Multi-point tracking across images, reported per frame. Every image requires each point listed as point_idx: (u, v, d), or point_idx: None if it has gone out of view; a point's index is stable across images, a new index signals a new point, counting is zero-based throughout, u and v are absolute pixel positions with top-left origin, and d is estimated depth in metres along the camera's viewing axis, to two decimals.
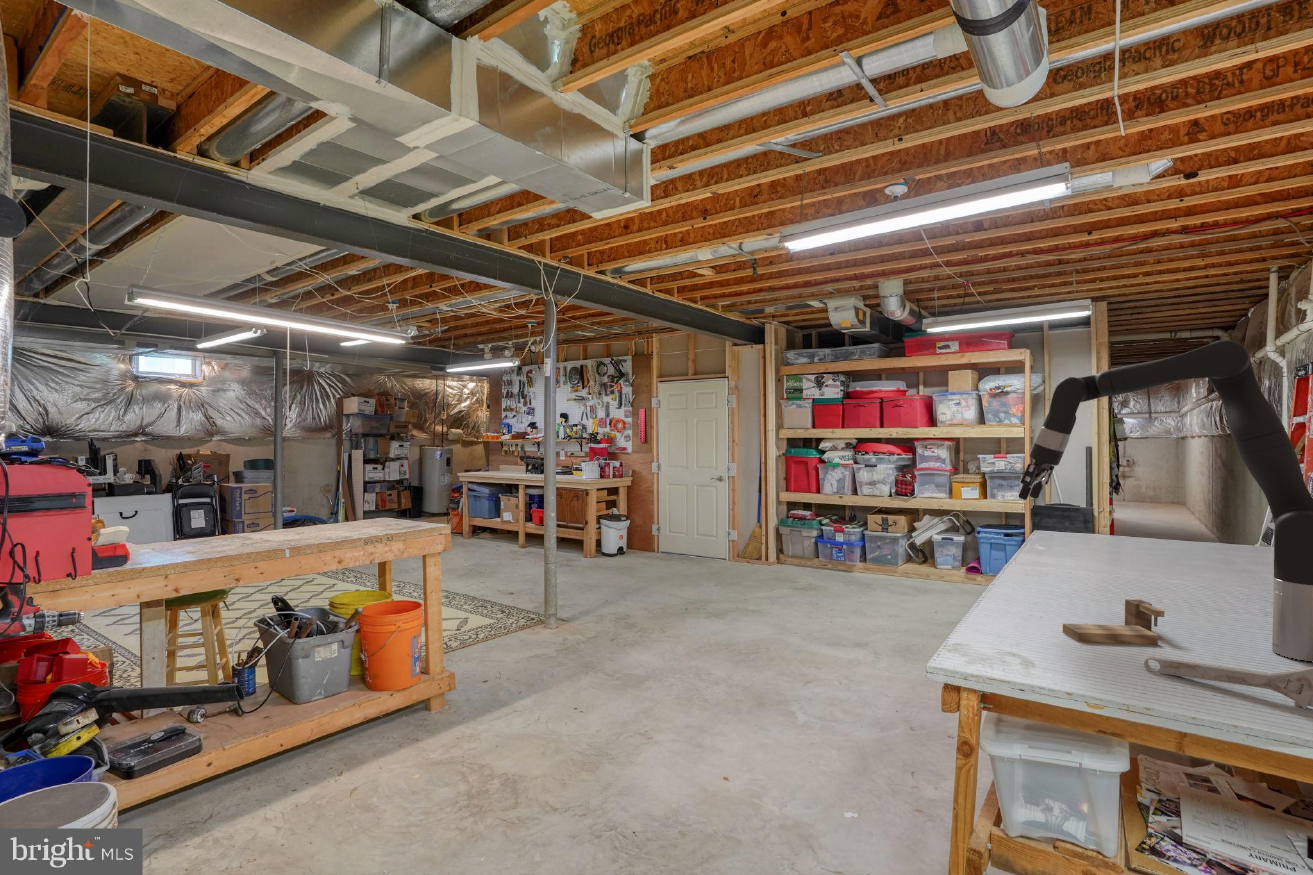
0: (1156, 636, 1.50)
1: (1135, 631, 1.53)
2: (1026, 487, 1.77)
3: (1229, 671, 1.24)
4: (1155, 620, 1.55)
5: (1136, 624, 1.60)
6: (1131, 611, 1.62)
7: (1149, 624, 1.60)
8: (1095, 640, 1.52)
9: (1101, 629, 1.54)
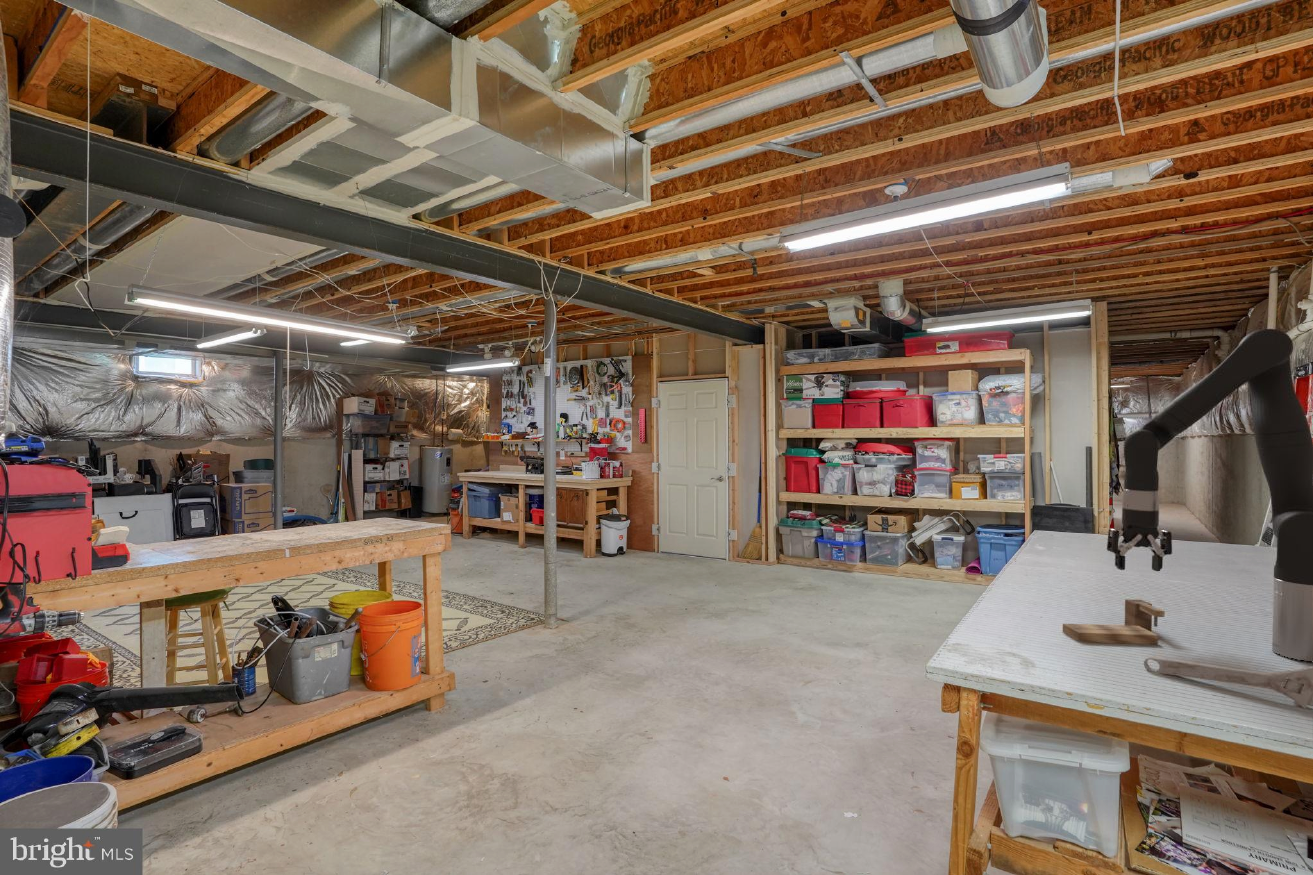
0: (1156, 636, 1.50)
1: (1135, 631, 1.53)
2: (1117, 555, 1.62)
3: (1229, 671, 1.24)
4: (1155, 620, 1.55)
5: (1136, 624, 1.60)
6: (1131, 611, 1.62)
7: (1149, 624, 1.60)
8: (1095, 640, 1.52)
9: (1101, 629, 1.54)
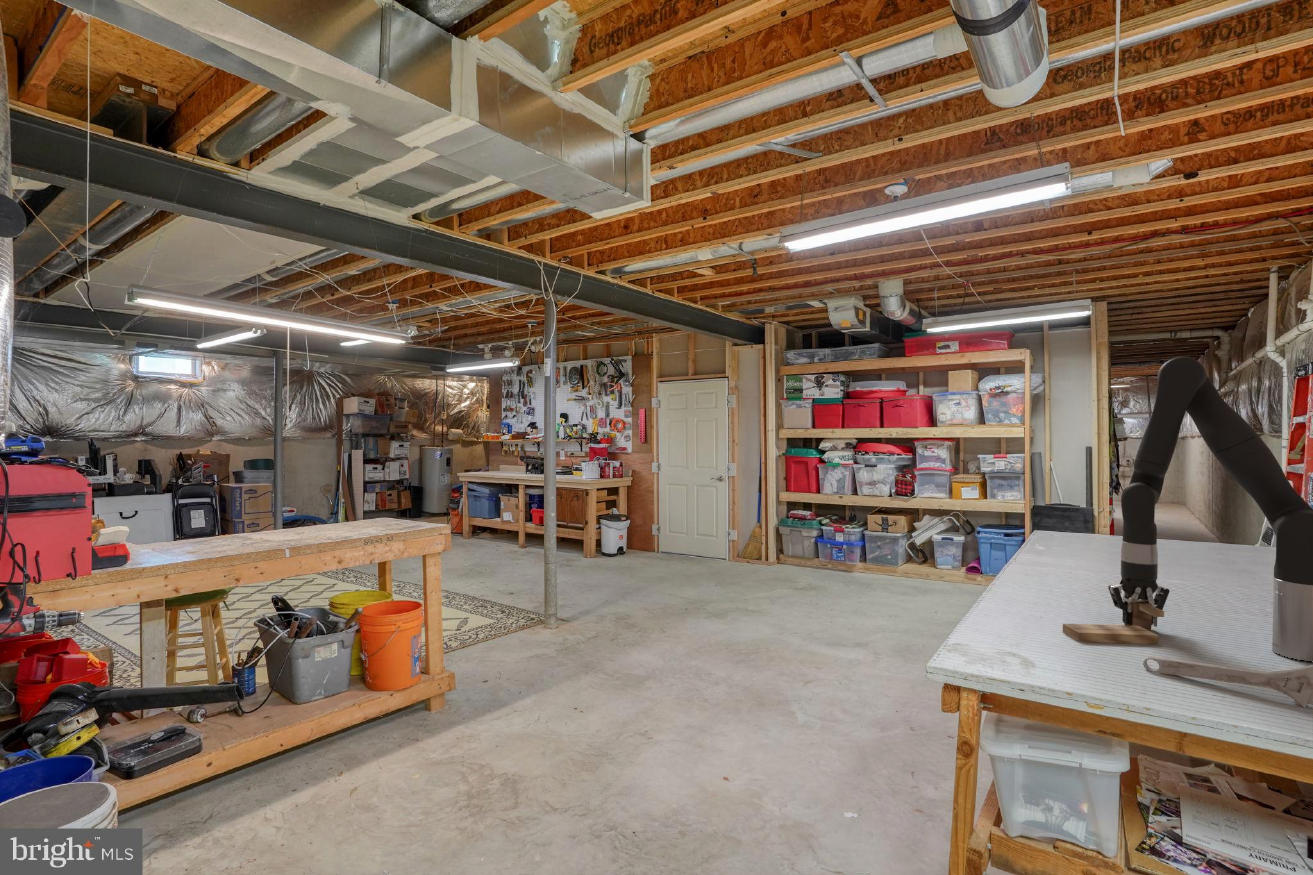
0: (1156, 636, 1.50)
1: (1135, 631, 1.53)
2: (1124, 611, 1.62)
3: (1229, 670, 1.25)
4: (1155, 620, 1.55)
5: (1136, 624, 1.60)
6: None
7: (1149, 624, 1.60)
8: (1095, 640, 1.52)
9: (1101, 629, 1.54)
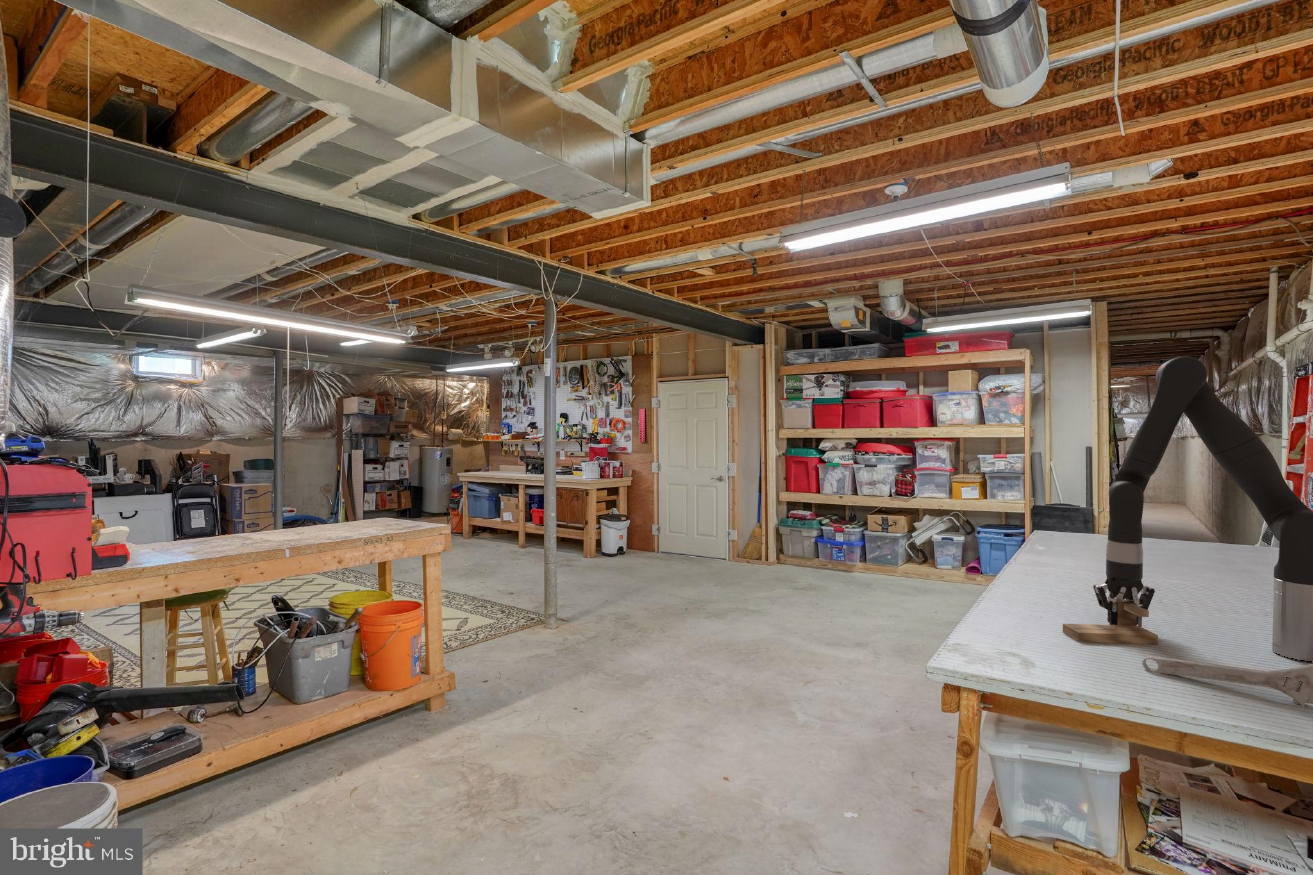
0: (1156, 636, 1.50)
1: (1135, 631, 1.53)
2: (1109, 611, 1.60)
3: (1228, 669, 1.25)
4: (1139, 620, 1.53)
5: (1121, 624, 1.58)
6: None
7: (1134, 624, 1.58)
8: (1095, 640, 1.52)
9: (1101, 629, 1.54)
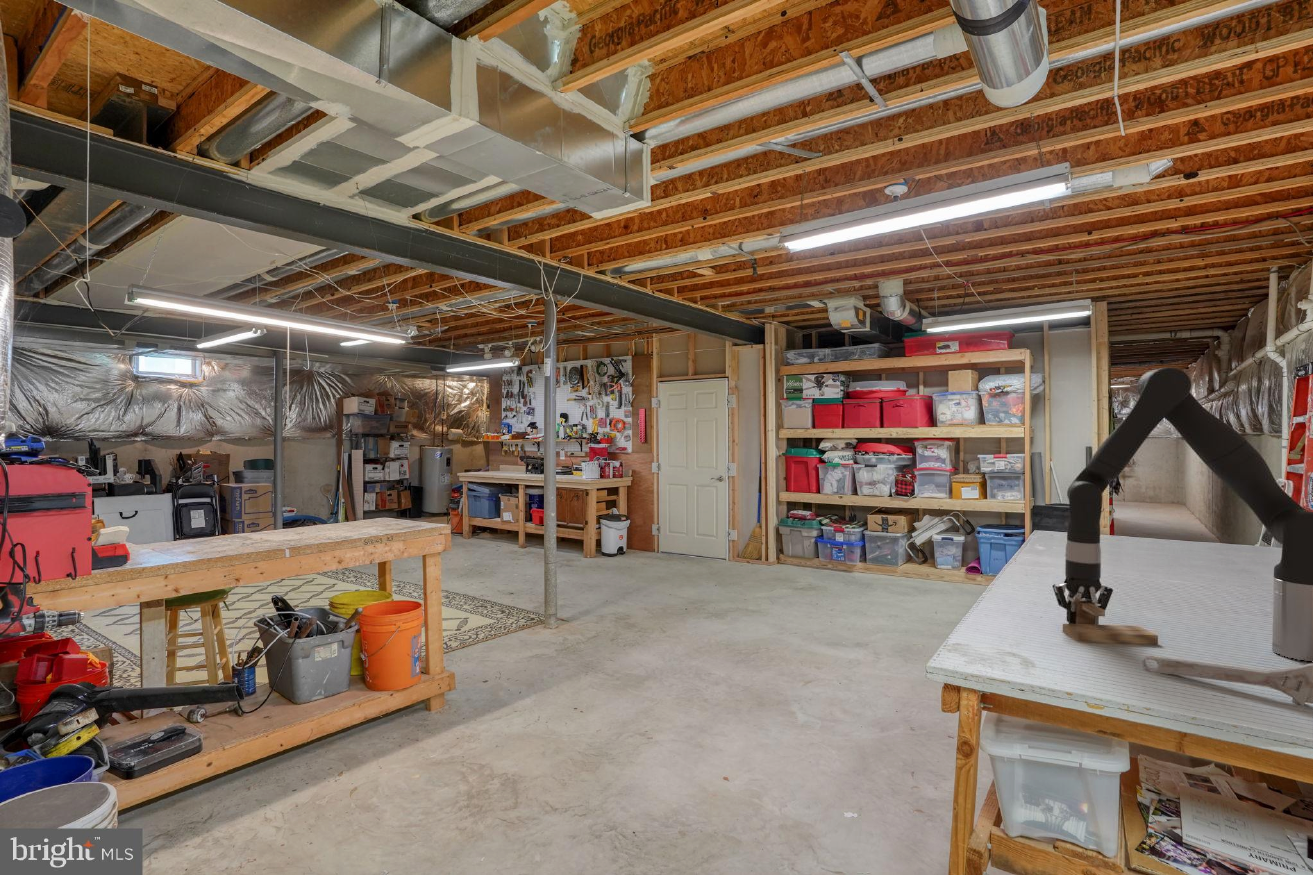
0: (1156, 636, 1.50)
1: (1135, 631, 1.53)
2: (1068, 611, 1.61)
3: (1227, 669, 1.25)
4: (1096, 619, 1.55)
5: (1079, 623, 1.59)
6: None
7: (1092, 623, 1.59)
8: (1095, 640, 1.52)
9: (1101, 629, 1.54)
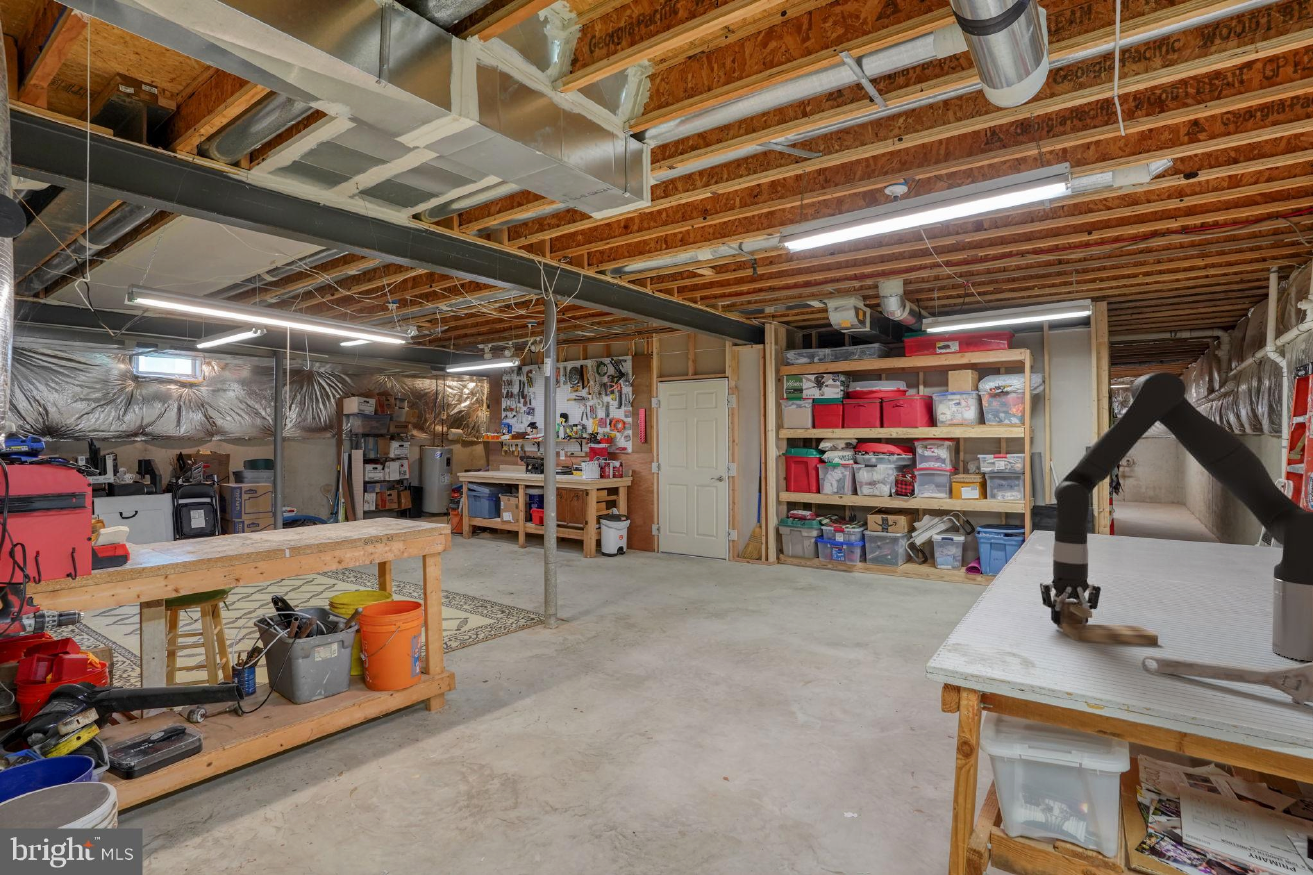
0: (1156, 636, 1.50)
1: (1135, 631, 1.53)
2: (1052, 610, 1.61)
3: (1227, 669, 1.25)
4: (1083, 621, 1.55)
5: None
6: (1062, 612, 1.61)
7: None
8: (1095, 640, 1.52)
9: (1101, 629, 1.54)
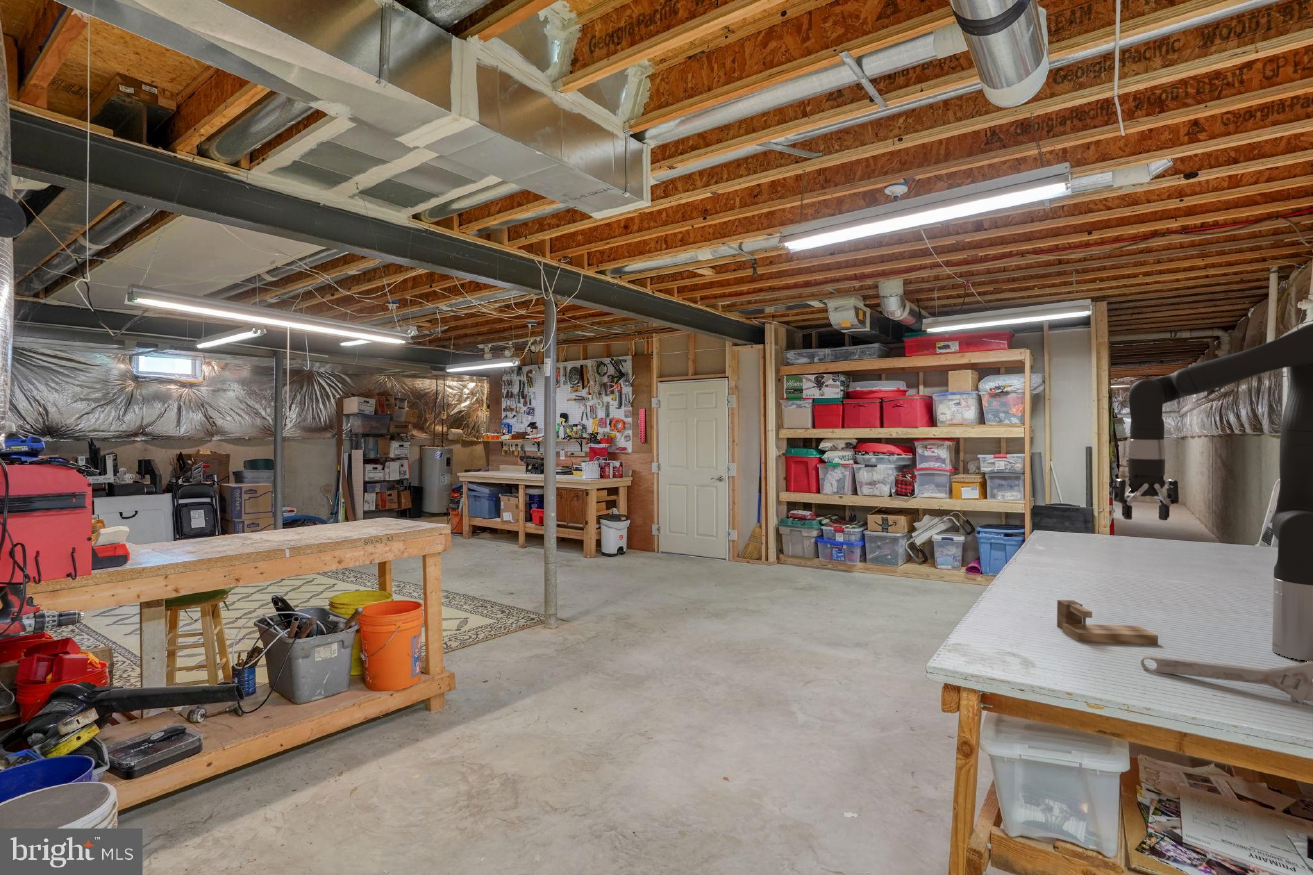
0: (1156, 636, 1.50)
1: (1135, 631, 1.53)
2: (1124, 505, 1.62)
3: (1226, 668, 1.26)
4: (1083, 621, 1.55)
5: None
6: (1062, 612, 1.61)
7: None
8: (1095, 640, 1.52)
9: (1101, 629, 1.54)
